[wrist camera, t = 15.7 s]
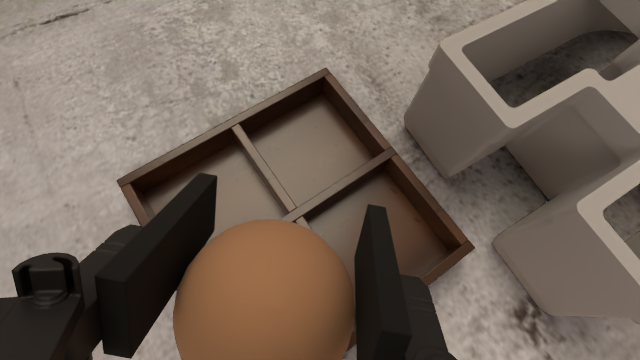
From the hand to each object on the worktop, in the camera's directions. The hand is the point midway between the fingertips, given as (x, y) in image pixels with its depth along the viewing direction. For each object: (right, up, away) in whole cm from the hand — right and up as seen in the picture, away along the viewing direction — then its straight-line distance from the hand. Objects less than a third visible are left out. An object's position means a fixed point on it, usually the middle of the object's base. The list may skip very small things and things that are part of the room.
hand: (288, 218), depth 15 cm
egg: (-1, -5, +2) cm, 5 cm away
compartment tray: (0, -1, +9) cm, 9 cm away
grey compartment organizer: (+23, +6, +13) cm, 27 cm away
